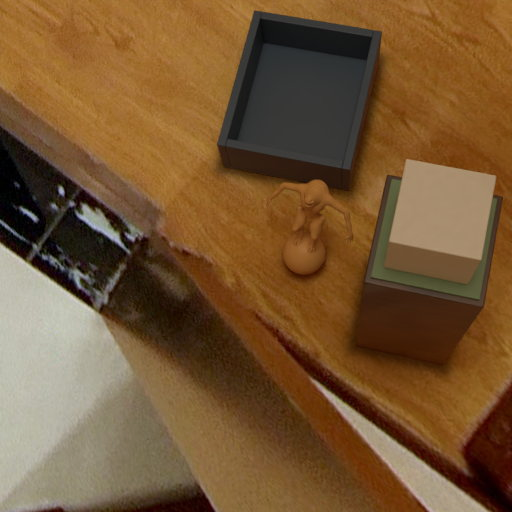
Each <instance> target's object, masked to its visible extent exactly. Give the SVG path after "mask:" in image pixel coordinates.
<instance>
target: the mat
mask: <svg viewBox="0 0 512 512" xmlns="http://www.w3.org/2000/svg"><path fill="white" fill-rule="evenodd" d="M400 185H401V180H396V179H392V180H391V185H390V190H389V194H388V199H387V204H386V208H385V213H384V218H383V222H382V227H381V232H380V236H379V241H378V246H377V250H376V255H375V260H374V264H373V269H372V274H371V278H374V279H378V280H383V281H388V282H393V283H398V284H402V285H407V286H412V287H417V288H421V289H426V290H431V291H436V292H441V293H445V294H450V295H455V296H460V297H465V298H469V299H474V300H479V299H480V294H481V288H482V283H483V277H484V271H485V266H486V260H487V254H488V249H489V243H490V237H491V232H492V226H493V220H494V215H495V209H496V204H497V199H495V198H493V199H492V205H491V210H490V216H489V221H488V227H487V233H486V238H485V244H484V249H483V255H482V260H481V262H480V263H479V265H478V267H477V269H476V270H475V272H474V274H473V276H472V278H471V279H470V281H469V283H468V284H462V283H457V282H452V281H447V280H443V279H438V278H433V277H428V276H423V275H418V274H413V273H409V272H404V271H399V270H394V269H389V268H385V267H384V263H385V258H386V253H387V247H388V242H389V237H390V233H391V228H392V223H393V218H394V214H395V209H396V204H397V199H398V195H399V190H400Z"/></svg>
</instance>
